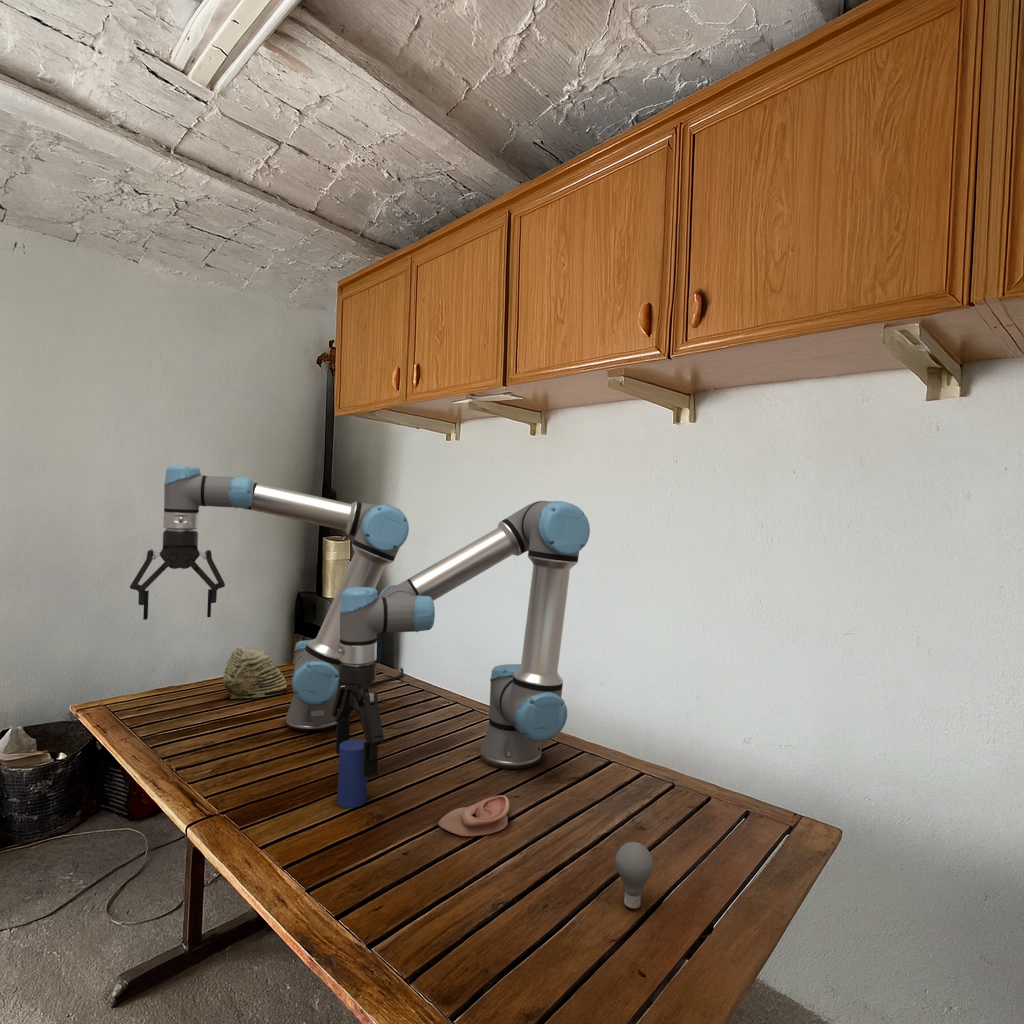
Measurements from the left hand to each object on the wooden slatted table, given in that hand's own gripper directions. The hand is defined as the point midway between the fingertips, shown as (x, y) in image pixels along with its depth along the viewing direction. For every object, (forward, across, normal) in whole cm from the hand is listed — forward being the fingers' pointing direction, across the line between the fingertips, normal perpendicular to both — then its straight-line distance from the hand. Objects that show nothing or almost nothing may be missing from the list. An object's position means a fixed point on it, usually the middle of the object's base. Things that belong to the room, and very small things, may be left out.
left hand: (177, 617), depth 154 cm
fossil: (+32, +21, +39) cm, 55 cm away
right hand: (+24, +35, -41) cm, 59 cm away
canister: (+32, +34, -41) cm, 63 cm away
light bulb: (+32, +68, -92) cm, 119 cm away
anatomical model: (+32, +55, -59) cm, 87 cm away
